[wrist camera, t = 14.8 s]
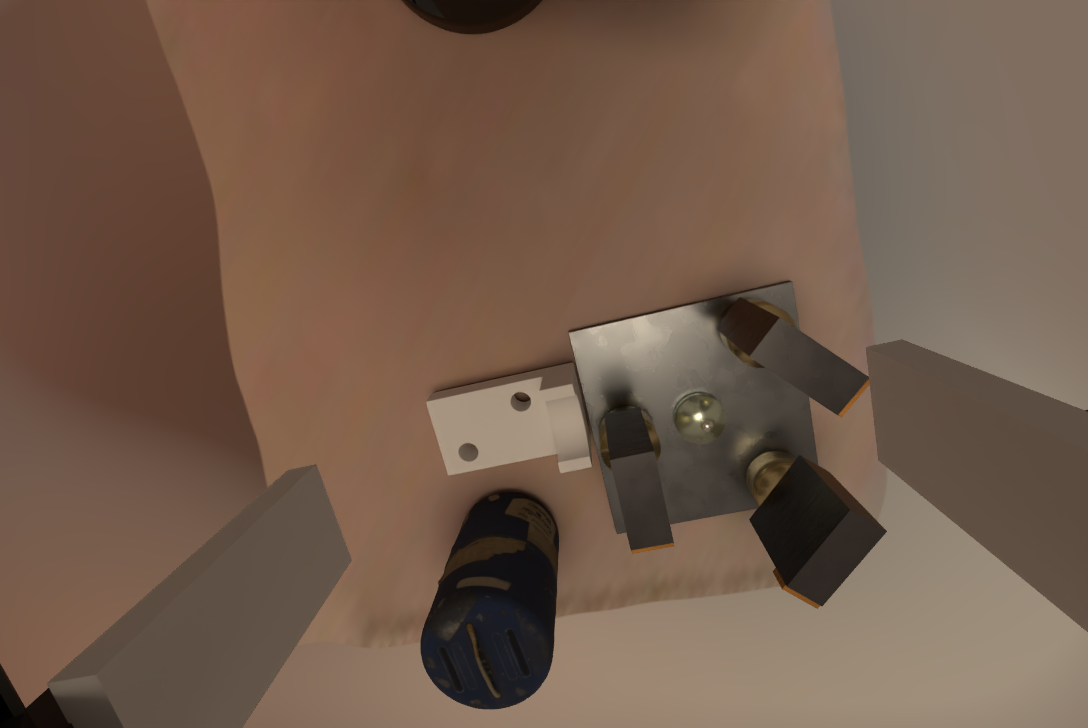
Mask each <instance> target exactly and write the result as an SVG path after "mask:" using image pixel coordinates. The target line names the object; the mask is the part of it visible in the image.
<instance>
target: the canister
mask: <svg viewBox="0 0 1088 728" xmlns="http://www.w3.org/2000/svg"><path fill="white" fill-rule="evenodd" d="M558 552H559V535H558V530H557V526H556V523H555V521H554V519H553V517H552V516H551V514H550V513H549V511H548V510H547V509H546V508H545V507H544V506H543V505H541V504H540V503H539V502H537V501H536V500H534V499H532V498H530V497H528V496H525V495H521V494H516V493H501V494H495V495H492V496H489V497H487V498H485V499H483V500H481V501H480V502H479V503H477V504H476V505H475V506H474V507H473V508H472V509H471V510H470V511H469V513H468V514H467V516H466V518H465V520H464V522H463V524H462V527H461V530H460V532H459V535H458V537H457V539H456V541H455V544H454V546H453V547H452V550H451V553H450V556H449V558H448V561H447V564H446V566H445V570H444V574H443V576H442V577H441V579H440V580H439V582H438V584H439V587H438V591H437V593H436V596H435V599H434V601H433V604H432V607H431V610H430V612H429V615H428V617H427V619H426V622H425V625H424V628H423V631H422V636H421V656H422V661H423V665H424V667H425V669H426V672H427V674H428V675H429V677H430V679H431V680H432V682H433V683H434V684H435V685H436V686H437V687H438V688H439V689H440V690H441V691H442V692H443V693H444V694H446V695H447V696H448V697H450V698H452V699H453V700H455V701H457V702H459V703H461V704H464V705H467V706H470V707H473V708H478V709H501V708H506V707H510V706H513V705H516V704H518V703H520V702H522V701H524V700H526V699H527V698H529V697H530V696H531V695H532V694H534V693H535V692H536V691H537V690H538V689H539V687H540V686H541V685H542V683H543V682H544V680H545V679H546V677H547V675H548V673H549V670H550V667H551V663H552V658H553V649H554V627H555V615H556V597H557V572H558Z"/></svg>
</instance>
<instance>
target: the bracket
mask: <svg viewBox="0 0 1088 728" xmlns="http://www.w3.org/2000/svg"><path fill="white" fill-rule="evenodd" d="M517 392H524V393H526V394H527V395H528V396H529V397H530V400H529V401H527V402H521V401H519V400H517V399H516V398H515V396H514V394H515V393H517ZM426 404H427V407H428V411H429V414H430V417H431V420H432V424H433V427H434V430H435V433H436V437H437V440H438V443H439V446H440V450H441V453H442V456H443V460H444V463H445V466H446V469H447V473H448V476H449V475H454V474H459V473H464V472H469V471H474V470H479V469H484V468H489V467H494V466H499V465H504V464H509V463H514V462H519V461H524V460H529V459H534V458H539V457H544V456H549V455H554V454H558V466H559V470H560V473H564V472H569V471H574V470H579V469H584V468H589V467H592V455H591V436H590V429H589V425H588V421H587V417H586V412H585V408H584V404H583V400H582V397H581V393H580V389H579V385H578V381H577V376H576V372H575V368H574V364H573V362H572V363H567V364H563V365H558V366H553V367H549V368H544V369H540V370H535V371H531V372H526V373H521V374H517V375H512V376H508V377H503V378H499V379H494V380H489V381H485V382H480V383H476V384H471V385H466V386H462V387H457V388H453V389H448V390H444V391H439V392H434V393H433V394H432V395H431V396H430V397H429V399H428V400H427V401H426ZM468 443H471V444H473V445H475V446H476V447H472V446H470V445H469V444H468Z"/></svg>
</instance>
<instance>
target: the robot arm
mask: <svg viewBox="0 0 1088 728" xmlns="http://www.w3.org/2000/svg"><path fill="white" fill-rule="evenodd" d="M402 1H403V2H404V3H405V4H406V5H407V6H408V7H409V8H410V9H411V10H412V11H413V12H414V13H416V14H417V15H418V16H420V17H421V18H423V19H424V20H426V21H427V22H429V23H431V24H433V25H435V26H437V27H440V28H442V29H445V30H449V31H452V32H457V33H465V34H479V33H487V32H492V31H496V30H499V29H502V28H505V27H507V26H509V25H511V24H513V23H515V22H517V21H518V20H520V19H522V18H523V17H525V16H526V15H527V14H528V13H530V12H531V11H532V10H533V9H534V8H535V7H536V6H537V5H538V4H539V3H540V2H541V1H542V0H402ZM866 354H867V362H868V371H869V380H870V389H871V398H872V407H873V416H874V425H875V434H876V443H877V452H878V460H879V461H880V462H881V463H882V464H884V465H885V466H886V467H887V468H889V469H890V470H891V471H892V472H894V473H895V474H896V475H897V476H898V477H900V478H901V479H902V480H904V482H906V483H907V484H908V485H909V486H911V487H912V488H913V489H914V490H915V491H917V492H918V493H919V494H920V495H921V496H923V497H924V498H925V499H927V500H928V501H929V502H930V503H931V504H932V505H934V506H935V507H936V508H937V509H939V510H940V511H941V512H942V513H943V514H945V515H946V516H947V517H948V518H949V519H951V520H952V521H953V522H954V523H956V524H957V525H958V526H959V527H960V528H962V529H963V530H964V531H965V532H966V533H968V534H969V535H970V536H971V537H973V538H974V539H975V540H976V541H977V542H979V543H980V544H981V545H982V546H984V547H985V548H986V549H987V550H988V551H990V552H991V553H992V554H993V555H995V556H996V557H997V558H998V559H999V560H1001V561H1002V562H1003V563H1004V564H1006V565H1007V566H1008V567H1009V568H1010V569H1012V570H1013V571H1014V572H1015V573H1016V574H1018V575H1019V576H1020V577H1021V578H1022V579H1024V580H1025V581H1026V582H1027V583H1029V584H1030V585H1031V586H1032V587H1034V588H1035V589H1036V590H1037V591H1038V592H1040V593H1041V594H1042V595H1043V596H1045V597H1046V598H1047V599H1048V600H1049V601H1050V602H1052V603H1053V604H1054V605H1056V606H1057V607H1058V608H1059V609H1060V610H1061V611H1063V612H1064V613H1065V614H1066V615H1067V616H1069V617H1070V618H1071V619H1072V620H1074V621H1075V622H1076V623H1077V624H1079V625H1080V626H1081V627H1082V628H1083V629H1085V630H1086V631H1087V632H1088V410H1082V409H1079V408H1077V407H1074V406H1071V405H1069V404H1067V403H1064V402H1061V401H1059V400H1056V399H1054V398H1051V397H1048V396H1045V395H1043V394H1041V393H1038V392H1036V391H1033V390H1030V389H1027V388H1025V387H1023V386H1020V385H1018V384H1015V383H1012V382H1010V381H1007V380H1005V379H1002V378H999V377H997V376H994V375H992V374H989V373H987V372H984V371H982V370H979V369H977V368H974V367H971V366H969V365H966V364H964V363H961V362H958V361H956V360H953V359H951V358H948V357H946V356H943V355H940V354H938V353H935V352H933V351H930V350H928V349H925V348H922V347H920V346H917V345H915V344H912V343H910V342H907V341H904V340H897V341H893V342H888V343H883V344H879V345H874V346H869V347H866ZM351 561H352V560H351V557H350V554H349V551H348V549H347V546H346V543H345V541H344V538H343V535H342V533H341V530H340V527H339V524H338V522H337V519H336V516H335V514H334V511H333V508H332V506H331V503H330V500H329V497H328V495H327V492H326V489H325V487H324V484H323V481H322V479H321V476H320V473H319V470H318V468H317V465H316V464H315V465H310V466H306V467H301V468H296V469H292V470H288V471H286V472H285V473H284V474H283V475H282V476H281V477H280V478H279V479H277V480H276V481H275V482H274V483H273V484H272V485H271V486H269V487H268V488H267V489H266V490H265V491H264V492H263V493H262V494H260V495H259V496H258V497H257V498H256V499H255V500H254V501H253V502H251V503H250V504H249V505H248V506H247V507H246V508H245V509H243V510H242V511H241V512H240V513H239V514H238V515H237V516H236V517H235V518H233V519H232V520H231V521H230V522H229V523H228V524H227V525H225V527H223V528H222V529H221V530H220V531H219V532H218V533H216V534H215V535H214V536H213V537H212V538H211V539H210V540H208V541H207V542H206V543H205V544H204V545H203V546H202V547H201V548H199V549H198V550H197V551H196V552H195V553H194V554H193V555H191V556H190V557H189V558H188V559H187V560H186V561H185V562H183V563H182V564H181V565H180V566H179V567H178V568H177V569H176V570H174V571H173V572H172V573H171V574H170V575H169V576H168V577H167V578H166V579H164V580H163V581H162V582H161V583H160V584H159V585H158V586H156V587H155V588H154V589H153V590H152V591H151V592H150V593H148V594H147V595H146V596H145V597H144V598H143V599H142V600H141V601H139V602H138V603H137V604H136V605H135V606H134V607H133V608H131V609H130V610H129V611H128V612H127V613H126V614H125V615H124V616H122V617H121V618H120V619H119V620H118V621H117V622H116V623H115V624H113V625H112V626H111V627H110V628H109V629H108V630H107V631H105V633H103V634H102V635H101V636H100V637H99V638H98V639H97V640H95V641H94V642H93V643H92V644H91V645H90V646H88V647H87V648H86V649H85V650H84V651H83V652H82V653H81V654H80V655H78V656H77V657H76V658H75V659H74V660H73V661H71V662H70V663H69V664H68V665H67V666H66V667H65V668H64V669H62V670H61V671H60V672H59V673H58V674H57V675H56V676H54V677H53V678H52V679H51V680H50V681H49V682H48V683H47V685H48V687H49V688H48V689H47V690H46V691H45V692H43V693H42V694H41V695H40V696H39V697H38V698H37V699H36V700H35V701H34V702H32V703H31V704H30V705H29V706H28V707H27V708H25V706H24V704H23V703H22V701H21V699H20V697H19V696H18V694H17V692H16V690H15V689H14V687H13V685H12V684H11V682H10V680H9V678H8V676H7V675H6V673H5V671H4V669H3V668H2V666H1V664H0V728H242V727H243V726H244V724H245V723H246V721H247V720H248V718H249V717H250V715H251V714H252V712H253V710H254V709H255V708H256V706H257V705H258V703H259V701H260V700H261V698H262V697H263V695H264V694H265V692H266V690H267V689H268V688H269V686H270V684H271V683H272V682H273V680H274V678H275V677H276V675H277V674H278V672H279V671H280V669H281V668H282V666H283V665H284V663H285V662H286V660H287V658H288V657H289V656H290V654H291V652H292V651H293V649H294V648H295V646H296V645H297V643H298V642H299V640H300V639H301V637H302V636H303V634H304V633H305V631H306V630H307V628H308V626H309V625H310V623H311V622H312V620H313V619H314V617H315V616H316V614H317V613H318V611H319V610H320V608H321V607H322V605H323V604H324V602H325V600H326V599H327V597H328V596H329V594H330V593H331V591H332V590H333V588H334V587H335V585H336V584H337V582H338V581H339V579H340V578H341V576H342V574H343V573H344V571H345V570H346V568H347V567H348V565H349V564H350V562H351Z"/></svg>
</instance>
